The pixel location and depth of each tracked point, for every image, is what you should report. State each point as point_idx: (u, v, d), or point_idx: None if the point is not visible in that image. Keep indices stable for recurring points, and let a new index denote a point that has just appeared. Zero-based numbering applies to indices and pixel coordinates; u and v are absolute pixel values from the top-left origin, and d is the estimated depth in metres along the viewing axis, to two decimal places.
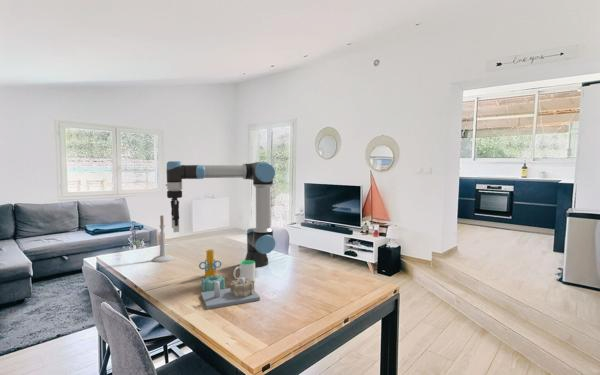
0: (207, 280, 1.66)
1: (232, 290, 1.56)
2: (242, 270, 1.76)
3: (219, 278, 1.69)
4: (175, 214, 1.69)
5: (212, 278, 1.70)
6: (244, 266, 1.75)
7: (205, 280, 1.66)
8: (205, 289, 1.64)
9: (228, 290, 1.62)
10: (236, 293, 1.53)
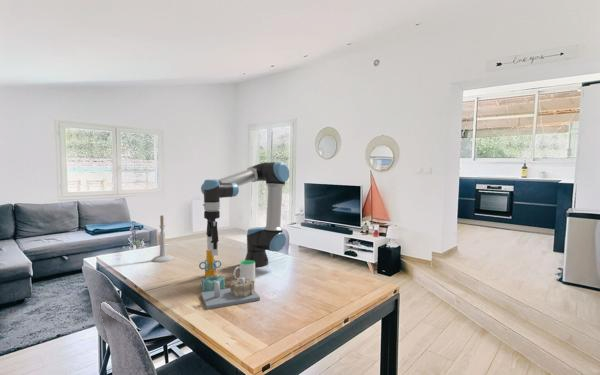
0: (207, 280, 1.66)
1: (232, 290, 1.56)
2: (242, 270, 1.76)
3: (219, 278, 1.69)
4: (214, 237, 1.58)
5: (212, 278, 1.70)
6: (244, 266, 1.75)
7: (205, 280, 1.66)
8: (205, 289, 1.64)
9: (228, 290, 1.62)
10: (236, 293, 1.53)
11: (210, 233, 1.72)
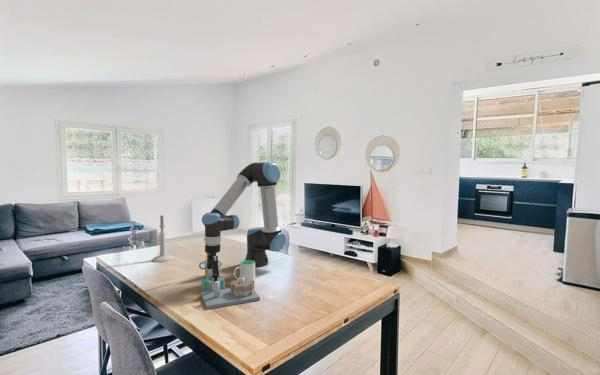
0: (207, 280, 1.66)
1: (232, 290, 1.56)
2: (242, 270, 1.76)
3: (219, 278, 1.69)
4: (215, 272, 1.59)
5: None
6: (244, 266, 1.75)
7: (205, 280, 1.66)
8: (205, 289, 1.64)
9: (228, 290, 1.62)
10: (236, 293, 1.53)
11: (210, 265, 1.73)
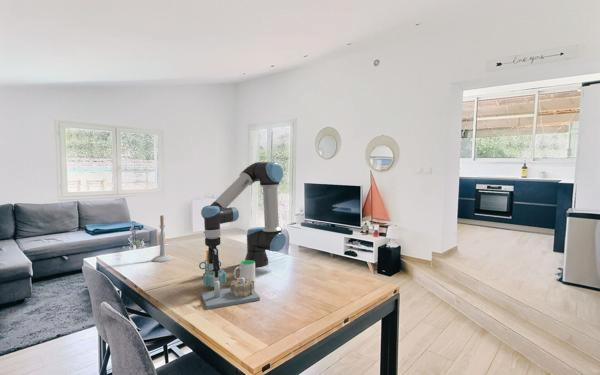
0: (209, 274, 1.66)
1: (232, 290, 1.56)
2: (242, 270, 1.76)
3: (220, 272, 1.69)
4: (215, 266, 1.60)
5: None
6: (244, 266, 1.75)
7: (207, 274, 1.66)
8: (207, 283, 1.65)
9: (228, 290, 1.62)
10: (236, 293, 1.53)
11: (212, 260, 1.73)
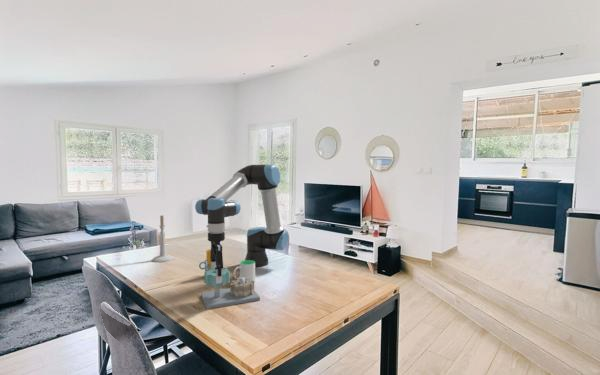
0: (210, 273, 1.51)
1: (232, 290, 1.56)
2: (242, 270, 1.76)
3: (224, 271, 1.54)
4: (219, 263, 1.45)
5: None
6: (244, 266, 1.75)
7: (208, 273, 1.51)
8: (208, 283, 1.49)
9: (228, 290, 1.62)
10: (236, 293, 1.53)
11: (214, 257, 1.57)
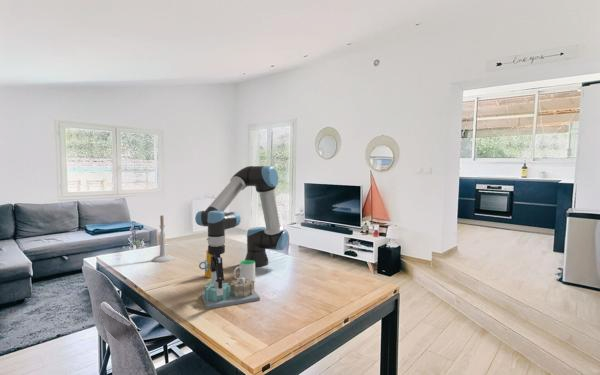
0: (211, 288, 1.51)
1: (232, 290, 1.56)
2: (242, 270, 1.76)
3: (224, 285, 1.54)
4: (219, 275, 1.44)
5: None
6: (244, 266, 1.75)
7: (209, 288, 1.51)
8: (209, 297, 1.50)
9: None
10: (236, 293, 1.53)
11: (214, 268, 1.59)
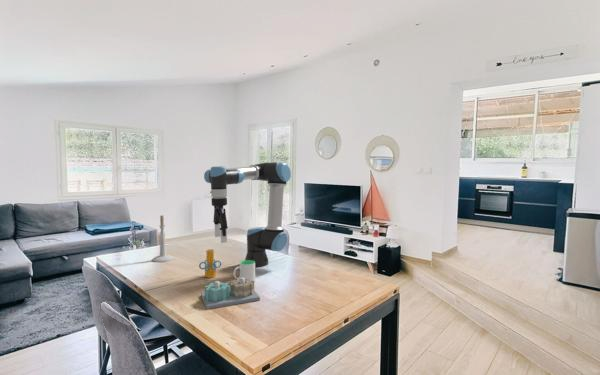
0: (211, 288, 1.51)
1: (232, 290, 1.56)
2: (242, 270, 1.76)
3: (224, 285, 1.54)
4: (223, 224, 1.57)
5: None
6: (244, 266, 1.75)
7: (209, 288, 1.51)
8: (209, 297, 1.50)
9: None
10: (236, 293, 1.53)
11: (217, 220, 1.71)
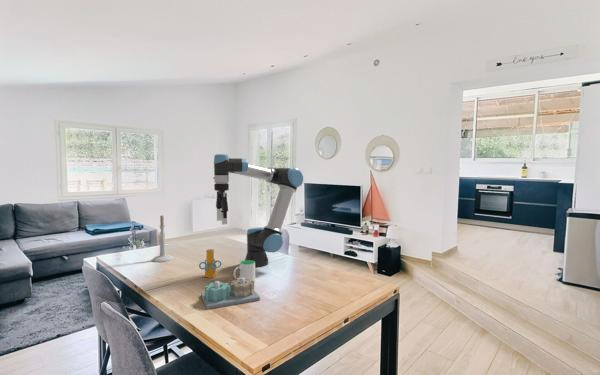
0: (211, 288, 1.51)
1: (232, 290, 1.56)
2: (242, 270, 1.76)
3: (224, 285, 1.54)
4: (224, 206, 1.70)
5: None
6: (244, 266, 1.75)
7: (209, 288, 1.51)
8: (209, 297, 1.50)
9: None
10: (236, 293, 1.53)
11: (219, 205, 1.84)
